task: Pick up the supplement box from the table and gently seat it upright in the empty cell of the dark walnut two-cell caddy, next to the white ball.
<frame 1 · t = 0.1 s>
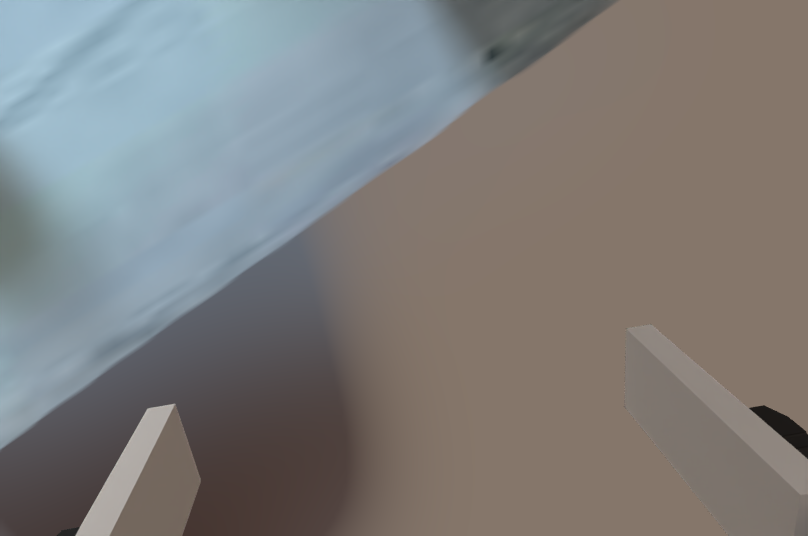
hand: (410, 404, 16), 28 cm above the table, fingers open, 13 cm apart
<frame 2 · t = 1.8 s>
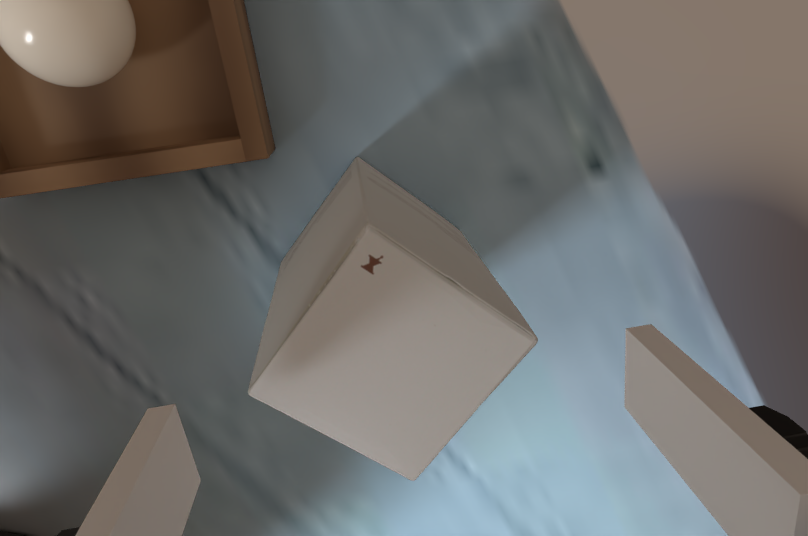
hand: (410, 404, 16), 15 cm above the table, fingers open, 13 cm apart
supplement box: (372, 246, 30), on the table
white ball: (92, 24, 24), point 1 cm above the table, touching caddy
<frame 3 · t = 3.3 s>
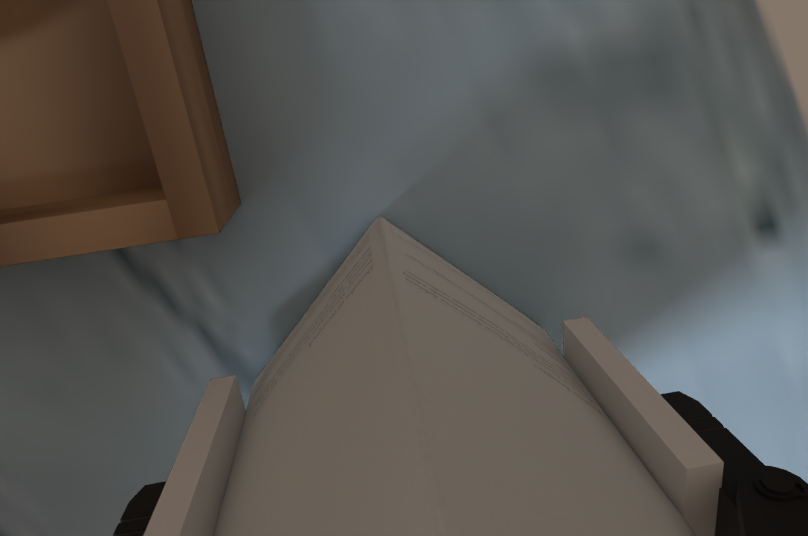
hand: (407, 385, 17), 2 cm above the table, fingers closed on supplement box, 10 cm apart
supplement box: (400, 353, 19), on the table, touching gripper
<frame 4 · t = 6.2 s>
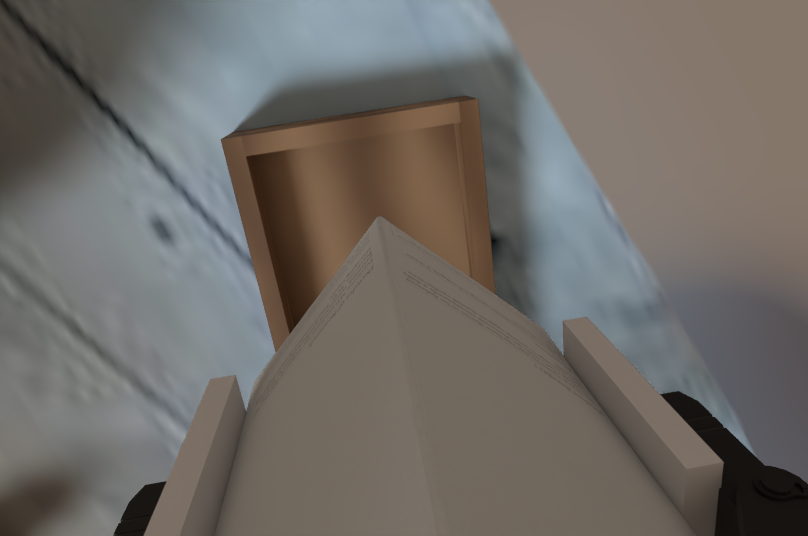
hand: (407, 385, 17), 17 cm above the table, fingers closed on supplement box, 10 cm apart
caddy: (384, 316, 35), on the table
supplement box: (401, 353, 19), point 15 cm above the table, touching gripper
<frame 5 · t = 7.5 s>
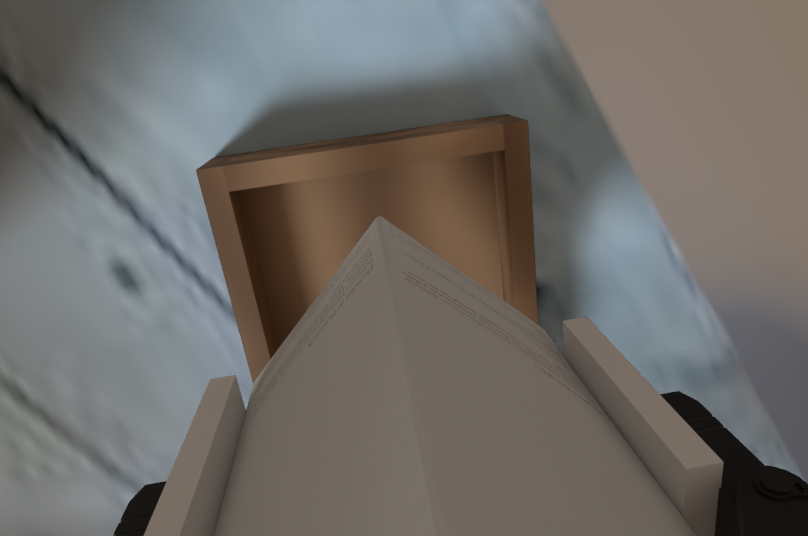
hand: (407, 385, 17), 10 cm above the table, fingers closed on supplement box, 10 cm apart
caddy: (400, 378, 29), on the table
supplement box: (401, 353, 19), point 8 cm above the table, touching gripper
when the fingers open (5 cm above the table, at t = 8.9 s): supplement box drops 2 cm, resting on caddy.
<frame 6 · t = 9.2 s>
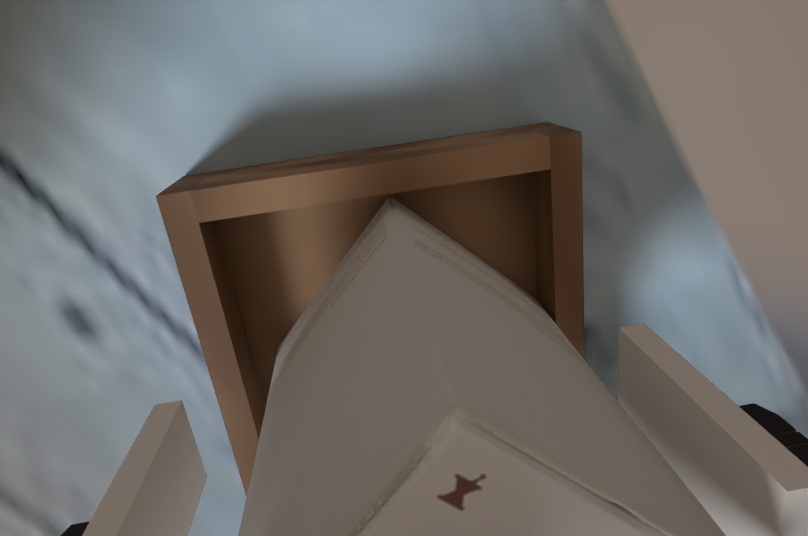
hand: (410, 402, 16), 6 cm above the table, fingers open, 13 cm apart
caddy: (412, 436, 24), on the table
supplement box: (408, 321, 21), point 1 cm above the table, touching caddy
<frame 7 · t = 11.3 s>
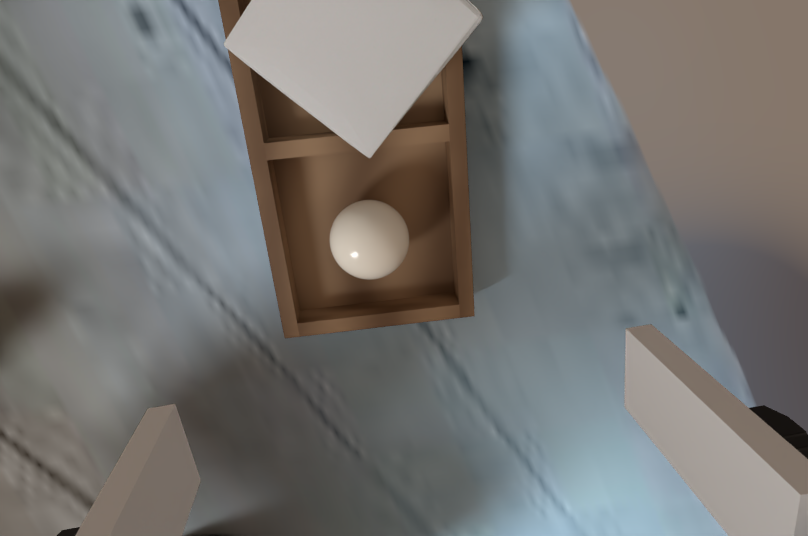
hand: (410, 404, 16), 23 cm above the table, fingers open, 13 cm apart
caddy: (357, 134, 36), on the table
supplement box: (354, 34, 33), point 1 cm above the table, touching caddy
white ball: (368, 227, 37), point 1 cm above the table, touching caddy
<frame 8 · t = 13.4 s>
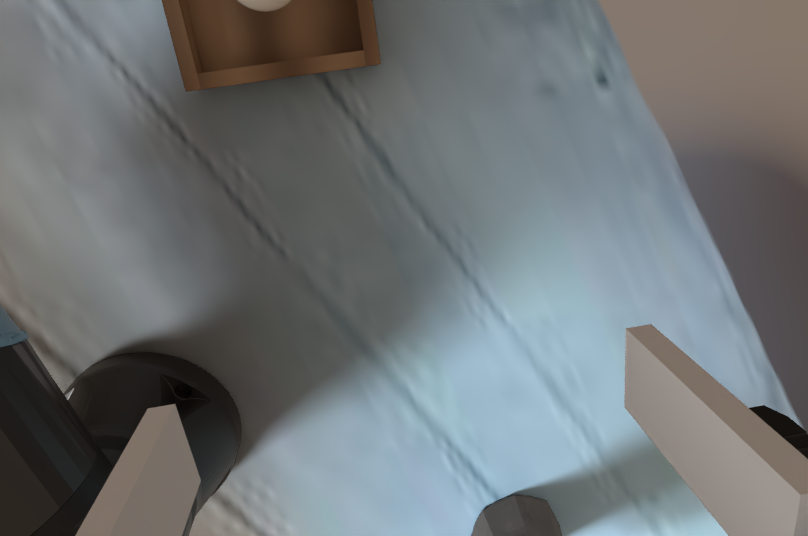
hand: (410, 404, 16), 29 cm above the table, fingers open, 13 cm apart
coffeepot: (520, 531, 57), on the table
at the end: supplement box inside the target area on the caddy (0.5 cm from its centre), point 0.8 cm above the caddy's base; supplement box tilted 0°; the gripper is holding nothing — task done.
